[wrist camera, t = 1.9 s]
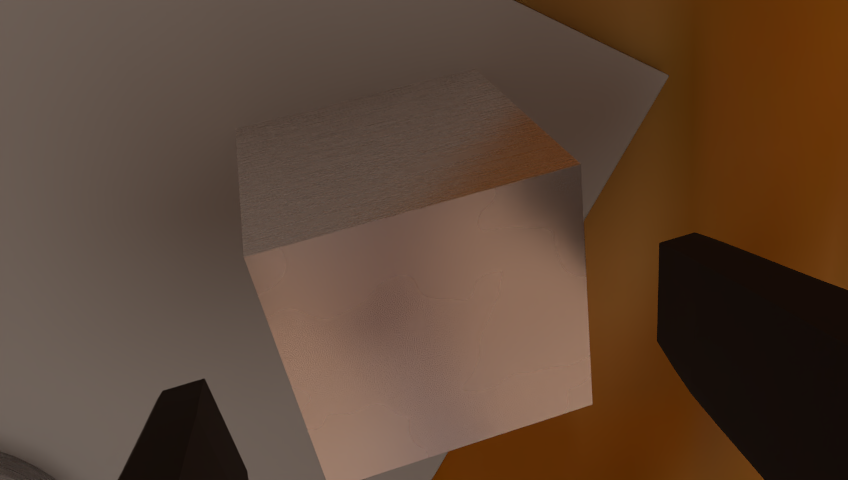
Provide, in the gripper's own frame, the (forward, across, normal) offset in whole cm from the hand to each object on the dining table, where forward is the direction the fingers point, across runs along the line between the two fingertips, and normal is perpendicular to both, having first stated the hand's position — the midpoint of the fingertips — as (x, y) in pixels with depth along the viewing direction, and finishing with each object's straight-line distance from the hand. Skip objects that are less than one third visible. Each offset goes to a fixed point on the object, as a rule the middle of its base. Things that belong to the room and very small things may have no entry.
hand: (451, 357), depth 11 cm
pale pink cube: (+6, 0, 0) cm, 6 cm away
